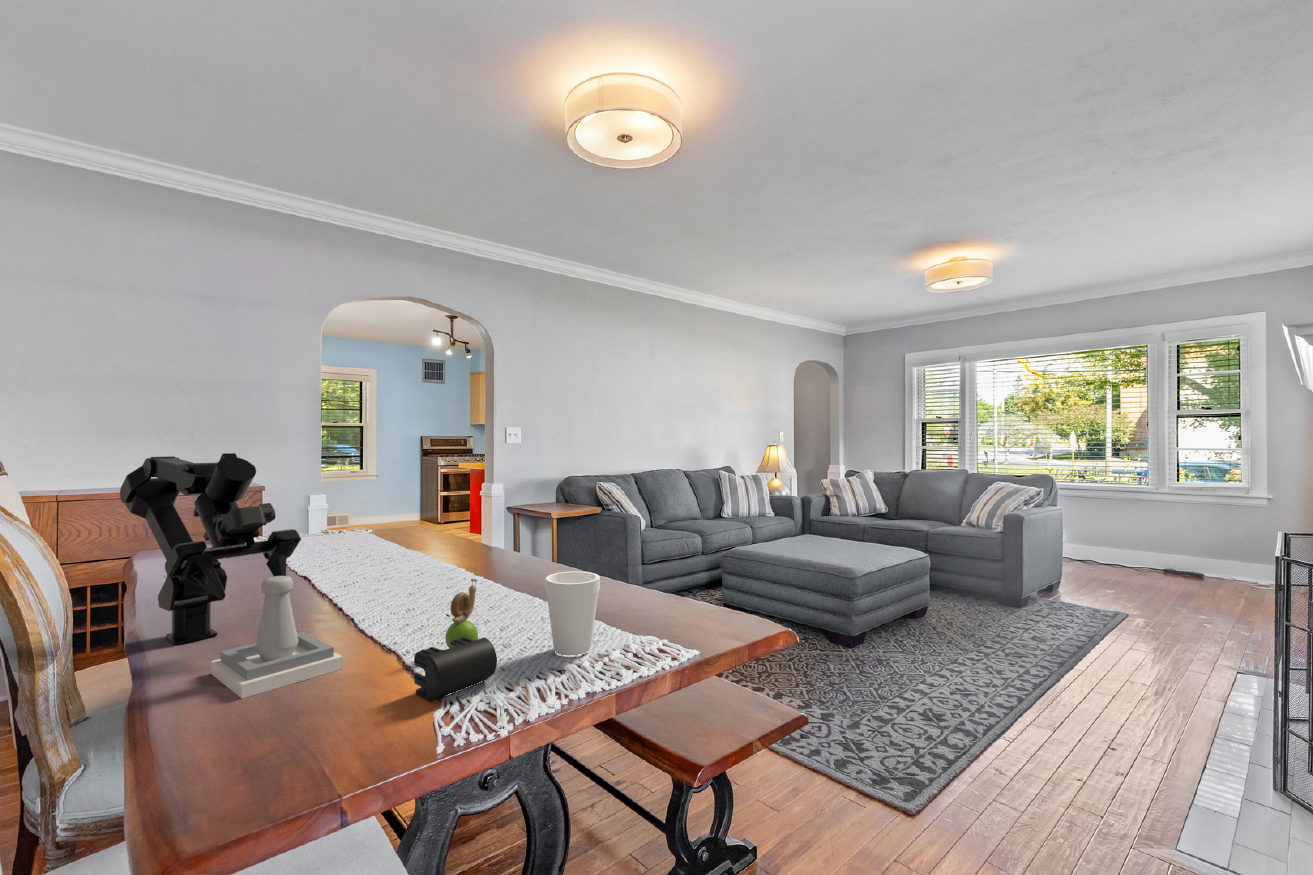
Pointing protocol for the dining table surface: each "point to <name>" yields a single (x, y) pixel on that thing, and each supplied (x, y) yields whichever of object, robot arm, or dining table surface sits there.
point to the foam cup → (572, 610)
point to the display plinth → (274, 666)
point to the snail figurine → (462, 617)
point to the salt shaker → (276, 620)
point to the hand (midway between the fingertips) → (254, 591)
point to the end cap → (454, 667)
